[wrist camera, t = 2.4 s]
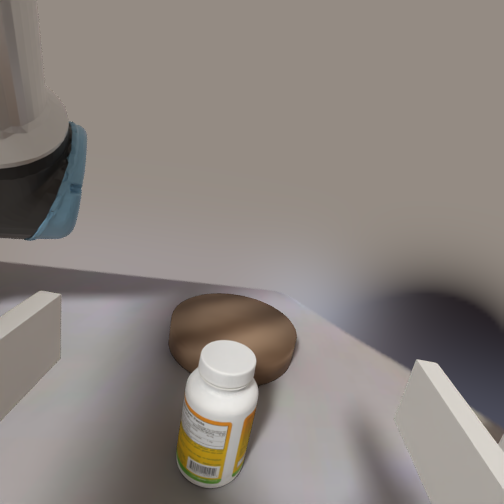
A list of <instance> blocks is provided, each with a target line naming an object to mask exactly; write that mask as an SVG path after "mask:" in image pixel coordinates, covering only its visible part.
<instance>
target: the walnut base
mask: <svg viewBox="0 0 504 504" xmlns="http://www.w3.org/2000/svg"><path fill="white" fill-rule="evenodd" d="M296 339H297V334H296V330H295V328H294V326H293V324H292V323H291V321H290V320H289V319H288V318H287V317H286V316H285V315H284V314H283V313H281V312H280V311H278V310H277V309H275V308H274V307H272V306H270V305H268V304H266V303H264V302H261V301H258V300H256V299H252V298H249V297H245V296H240V295H234V294H221V293H217V294H204V295H199V296H195V297H192V298H189V299H187V300H185V301H183V302H182V303H180V304H179V305H178V306H177V307H176V308H175V310H174V311H173V314H172V318H171V326H170V334H169V348H170V351H171V353H172V355H173V357H174V358H175V360H176V361H177V362H178V363H179V364H180V365H181V366H182V367H183V368H184V369H186V370H187V371H189V372H190V373H192V372H193V371H194V370H195V369H196V368H198V365H199V360H200V355H201V352H202V349H203V348H204V347H205V346H206V345H207V344H209V343H211V342H214V341H218V340H230V341H235V342H238V343H241V344H243V345H245V346H247V347H248V348H249V349H251V350H252V351H253V353H254V354H255V357H256V367H255V373H254V377H253V378H254V379H255V381H256V383H257V386H258V385H262V384H266V383H269V382H271V381H274V380H276V379H277V378H279V377H280V376H281V375H283V374H284V373H285V372H286V370H287V369H288V367H289V365H290V362H291V358H292V354H293V351H294V347H295V343H296Z"/></svg>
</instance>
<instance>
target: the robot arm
mask: <svg viewBox="0 0 504 504" xmlns="http://www.w3.org/2000/svg"><path fill="white" fill-rule="evenodd" d="M86 148H87V134H86V131H85V130H84V128H83V127H81V126H79V125H76V124H75V123H73V122H69V121H68V115H67V112H66V109H65V106H64V104H63V103H62V101H61V100H60V99H59V97H58V96H57V95H56V94H55V93H54V92H53V91H52V90H51V89H49V88H48V87H47V86H46V85H45V80H44V68H43V59H42V48H41V37H40V27H39V16H38V7H37V0H0V238H11V239H24V240H29V241H31V240H35V239H59V238H63V237H66V236H67V235H69V234H70V233H71V232H72V230H73V229H74V227H75V224H76V220H77V216H78V211H79V205H80V199H81V187H82V184H83V178H84V172H85V162H86ZM60 358H61V294H58V293H52V292H47V291H41V290H40V291H39V292H37V293H35V294H34V295H32V296H31V297H29V298H28V299H26V300H25V301H23V302H22V303H20V304H19V305H17V306H16V307H14V308H13V309H11V310H10V311H8V312H7V313H5V314H4V315H2V316H1V317H0V421H1V420H2V419H3V418H4V417H5V416H6V415H7V414H8V413H9V412H10V411H11V410H12V409H13V408H14V407H15V406H16V405H17V403H18V402H19V401H20V400H21V399H22V398H23V397H24V396H25V395H26V394H27V393H28V392H29V391H30V390H31V389H32V388H33V387H34V386H35V385H36V384H37V383H38V381H39V380H40V379H41V378H42V377H43V376H44V375H45V374H46V373H47V372H48V371H49V370H50V369H51V368H52V367H53V366H54V365H55V364H56V363H57V362H58V361H59V360H60ZM394 421H395V423H396V425H397V427H398V430H399V432H400V434H401V436H402V439H403V441H404V443H405V445H406V448H407V450H408V452H409V454H410V457H411V459H412V461H413V463H414V466H415V468H416V470H417V472H418V475H419V477H420V479H421V481H422V484H423V486H424V488H425V490H426V493H427V495H428V497H429V499H430V502H431V504H504V452H503V451H502V449H501V448H500V447H499V445H498V444H497V443H496V441H495V440H494V439H493V437H492V436H491V435H490V433H489V432H488V431H487V429H486V428H485V427H484V425H483V424H482V423H481V421H480V420H479V419H478V417H477V416H476V415H475V413H474V412H473V411H472V409H471V408H470V407H469V405H468V404H467V403H466V401H465V400H464V399H463V397H462V396H461V395H460V393H459V392H458V391H457V389H456V388H455V387H454V385H453V384H452V382H451V381H450V380H449V378H448V377H447V376H446V374H445V373H444V372H443V370H442V369H441V368H440V367H439V365H438V364H437V363H433V362H428V361H422V360H416V362H415V365H414V367H413V370H412V372H411V375H410V378H409V380H408V383H407V385H406V388H405V391H404V393H403V396H402V398H401V401H400V404H399V406H398V409H397V412H396V414H395V417H394Z"/></svg>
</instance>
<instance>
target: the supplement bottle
mask: <svg viewBox="0 0 504 504" xmlns="http://www.w3.org/2000/svg"><path fill="white" fill-rule="evenodd" d="M255 367H256V357H255V354H254V353H253V351H252V350H251V349H249V348H248V347H247V346H245V345H243V344H241V343H238V342H235V341H230V340H218V341H214V342H211V343H209V344H207V345H206V346H205V347H204V348H203V349H202V352H201V355H200V360H199V365H198V368H196V369H195V370H194V371H193V372H192V373H191V374H190V376H189V378H188V380H187V383H186V388H185V394H184V401H183V408H182V415H181V423H180V429H179V436H178V443H177V450H176V460H177V465H178V468H179V470H180V471H181V473H182V474H183V476H184V477H185V478H186V479H188V480H189V481H190V482H192V483H193V484H195V485H198V486H200V487H205V488H217V487H221V486H224V485H226V484H228V483H229V482H231V481H232V480H233V479H234V478H235V477H236V476H237V475H238V474H239V472H240V470H241V468H242V465H243V462H244V458H245V454H246V449H247V445H248V440H249V436H250V432H251V428H252V424H253V419H254V415H255V411H256V406H257V402H258V386H257V383H256V381H255V379H254V378H253V377H254V373H255Z"/></svg>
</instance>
